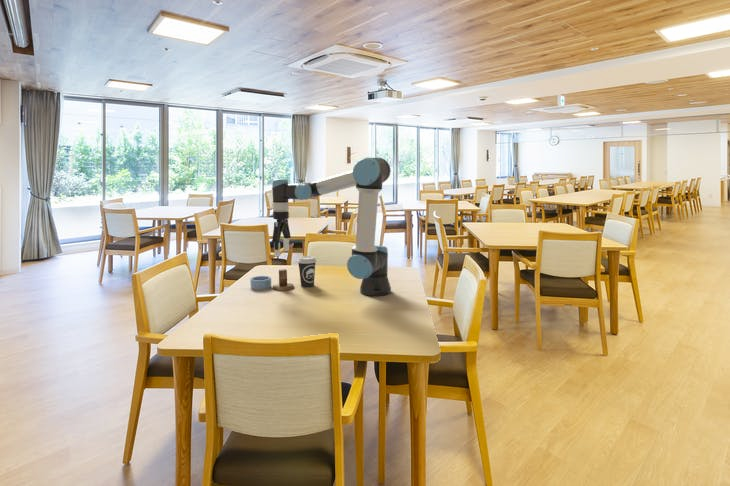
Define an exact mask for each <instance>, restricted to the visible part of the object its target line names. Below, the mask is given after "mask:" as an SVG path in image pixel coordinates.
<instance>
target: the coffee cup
mask: <svg viewBox="0 0 730 486" xmlns="http://www.w3.org/2000/svg"><path fill="white" fill-rule="evenodd" d="M316 262H317V259H316V257H315V256H311V255H305V256H304V255H303V256H300V257H299V258H298V259H297V263H298V269H299V280H300V286H301V287H302V288H311V287H314V286H315V276H316V275H315V274H316Z"/></svg>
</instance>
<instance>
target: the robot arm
mask: <svg viewBox="0 0 730 486" xmlns="http://www.w3.org/2000/svg"><path fill="white" fill-rule="evenodd" d="M390 175H391V166H390V163H389V162H388V161H387V160H385V159H384V158H381V157H370V156H369V157H364V158H361V159H359V160H358V161H357V162H356V163H355V164H354V166H353V169H352V170H350V171H346V172H342V173H339V174H336V175H335V174H334V175H332V176H328V177H326V178H322V179H318V180H315V181H312V182H302V183H300V182H299V183H289V181H288V179H286V178H276V179H273V180H272V182H271V183H272V187H271V189H272V203H271V206H272V210H273V213H272V218H273V219H274V220H276V222H275V221H274V223H273V231H272V232H273V233H272V240H271V243H272V244H273V248H274V249H273V250H274V251H273V252H274V257H281V243H280V240H281V237H282V236H283V241H282V242H283V243H282V244H283V245H282V246H283V252H290V239H291V237H292V236H291V231H290V226H289V218H290V212H289V209H290V207H289V200H300V201H304V200H309V199H310V198H311V199H314V198H319V197H320V196H323V195H327V194H330V193H334V192H338V191H341V190H346V189H350V188H354V187H355V188H356V190H357V191H358V201H357V205H358V206H357V219H356V232H355V233H356V235H355V244H354V245H353V246H352V248H351V255H350V257H348V260H347V263H346V267H347V271H348V273H349V274H350V275H351V277H352V278H355V279H358V280H361V284H360V286H359V293H360V294H362V295H365V296H370V297H381V296H382V297H383V296H387V295H390V294H392V287H391V283H390V281H389V277H388V268H389V267H388V265H389V264H388V260H389V256H388V255H389V252H388V247H387V246H385V245H375V243H376V230H377V229H376V227H377V216H378V215H377V214H378V203H379V202H378V201H379V193H380V192H381V191H382V190H383V183H385V182H386V181H387V180H388V179H389V178H390Z"/></svg>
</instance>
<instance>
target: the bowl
mask: <svg viewBox="0 0 730 486" xmlns="http://www.w3.org/2000/svg"><path fill="white" fill-rule="evenodd" d="M249 280H250V289H251V290H255V291H261V290H262V291H263V290H265V291H266V290H269V289H272V277H271V276H268V275H257V276H252V277H251V278H250V279H249Z"/></svg>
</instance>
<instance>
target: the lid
mask: <svg viewBox="0 0 730 486" xmlns="http://www.w3.org/2000/svg"><path fill="white" fill-rule="evenodd" d="M294 287H295V286H294V283H290V282H288V270H287V269H285V268H284V269H283V268H281V269H278V283H275V284H273V285H272V288H273V289H274V290H273V289H272V290H273V291H275V290H277V291H276V292H287V291H286V290H288V291H292V290H294V289H295V288H294ZM293 288H294V289H293ZM291 289H292V290H291Z"/></svg>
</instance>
